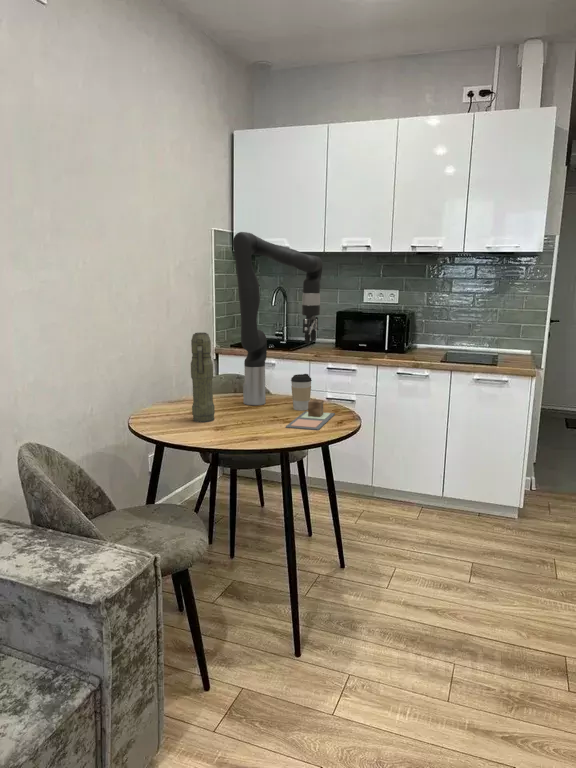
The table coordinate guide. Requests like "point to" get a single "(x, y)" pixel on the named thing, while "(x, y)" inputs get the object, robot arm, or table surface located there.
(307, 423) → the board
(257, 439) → the table surface
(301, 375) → the coffee cup
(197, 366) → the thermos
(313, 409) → the walnut block
